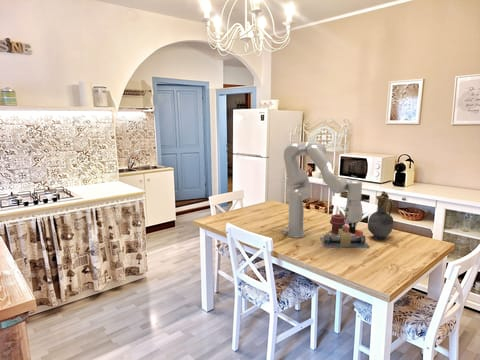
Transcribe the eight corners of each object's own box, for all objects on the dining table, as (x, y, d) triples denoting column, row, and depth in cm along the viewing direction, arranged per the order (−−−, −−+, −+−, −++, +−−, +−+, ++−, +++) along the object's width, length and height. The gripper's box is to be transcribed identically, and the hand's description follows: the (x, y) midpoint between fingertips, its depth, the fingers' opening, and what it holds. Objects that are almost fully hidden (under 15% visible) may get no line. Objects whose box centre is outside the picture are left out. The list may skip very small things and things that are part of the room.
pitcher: (364, 237, 204) (367, 192, 199) (381, 231, 215) (385, 188, 209) (380, 243, 195) (384, 195, 190) (397, 236, 206) (401, 191, 200)
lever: (341, 229, 195) (341, 225, 194) (344, 229, 196) (345, 224, 196) (359, 237, 183) (359, 232, 182) (363, 236, 184) (363, 231, 184)
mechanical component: (344, 230, 217) (345, 235, 208) (328, 229, 219) (329, 234, 210) (345, 213, 215) (346, 217, 205) (329, 212, 217) (330, 216, 207)
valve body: (324, 247, 190) (325, 234, 188) (320, 238, 204) (320, 226, 202) (369, 248, 188) (370, 235, 187) (362, 239, 202) (363, 227, 200)
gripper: (349, 205, 176) (347, 237, 179) (368, 201, 183) (366, 232, 186) (339, 202, 182) (337, 233, 186) (357, 199, 189) (356, 228, 193)
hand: (352, 232), depth 186 cm, fingers closed
